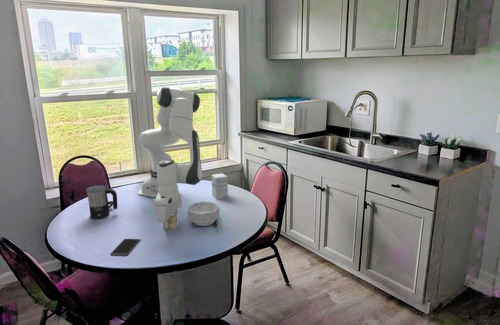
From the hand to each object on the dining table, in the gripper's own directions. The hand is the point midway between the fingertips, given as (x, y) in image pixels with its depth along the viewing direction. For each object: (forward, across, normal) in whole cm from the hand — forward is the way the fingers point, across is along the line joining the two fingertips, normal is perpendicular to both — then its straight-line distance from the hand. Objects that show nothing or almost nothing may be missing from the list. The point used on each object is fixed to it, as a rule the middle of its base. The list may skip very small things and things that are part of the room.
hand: (170, 222), depth 165 cm
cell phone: (+3, +22, -10) cm, 25 cm away
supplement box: (+2, -44, +11) cm, 45 cm away
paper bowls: (+2, -8, +14) cm, 16 cm away
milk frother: (+2, -10, -43) cm, 44 cm away
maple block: (+2, 0, 0) cm, 2 cm away
